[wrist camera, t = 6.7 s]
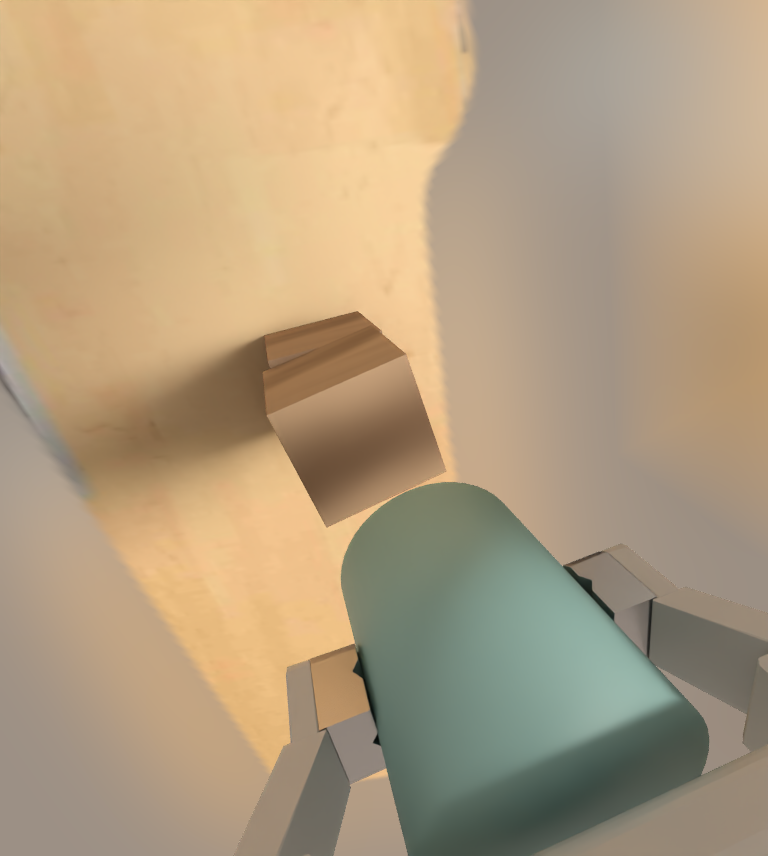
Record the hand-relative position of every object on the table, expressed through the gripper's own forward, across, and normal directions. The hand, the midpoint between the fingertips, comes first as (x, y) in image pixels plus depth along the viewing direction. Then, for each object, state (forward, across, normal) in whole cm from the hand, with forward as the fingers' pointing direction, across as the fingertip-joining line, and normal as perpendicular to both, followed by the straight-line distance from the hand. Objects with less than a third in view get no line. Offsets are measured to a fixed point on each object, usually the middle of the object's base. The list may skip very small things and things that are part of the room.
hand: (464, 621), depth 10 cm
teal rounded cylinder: (+2, 0, 0) cm, 2 cm away
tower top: (+16, 0, 0) cm, 16 cm away
